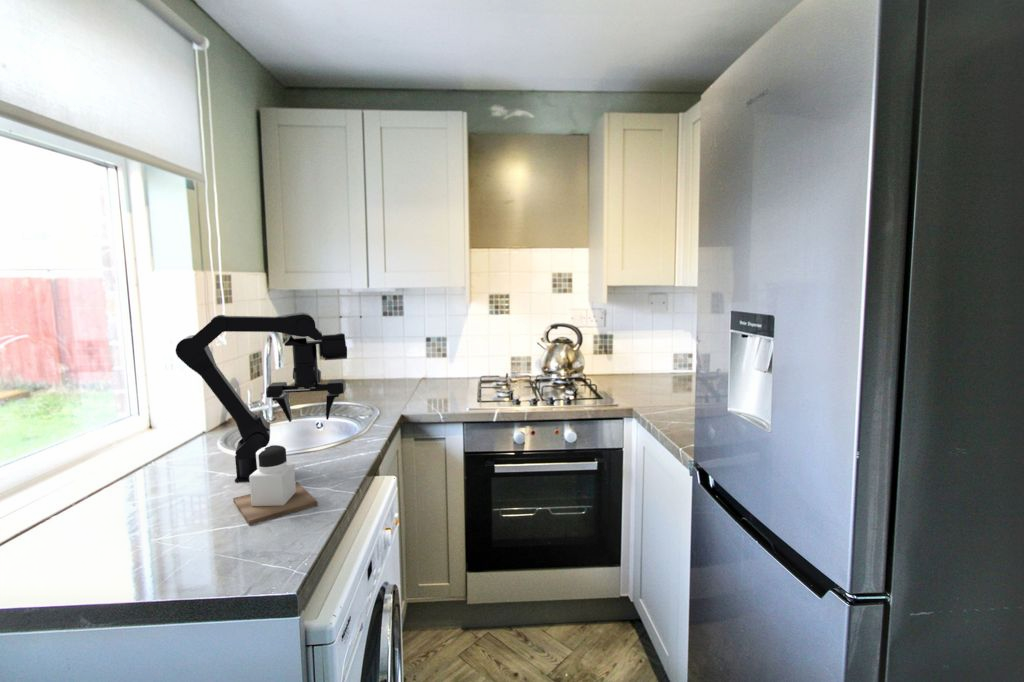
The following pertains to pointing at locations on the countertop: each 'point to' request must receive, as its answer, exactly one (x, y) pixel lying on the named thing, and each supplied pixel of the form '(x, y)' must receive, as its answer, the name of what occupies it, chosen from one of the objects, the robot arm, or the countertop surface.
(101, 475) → the countertop surface
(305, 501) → the walnut base
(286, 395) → the robot arm
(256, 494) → the medicine bottle
